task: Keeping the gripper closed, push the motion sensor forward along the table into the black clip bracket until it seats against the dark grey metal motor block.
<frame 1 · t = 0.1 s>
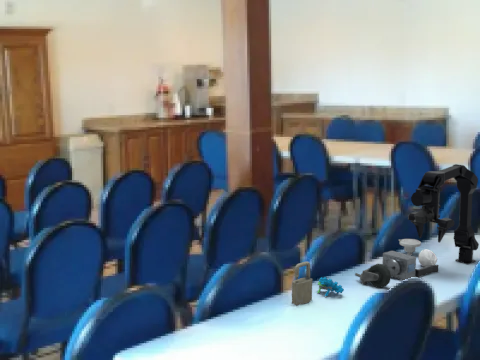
hand: (429, 240, 282), 15 cm above the table, tool pointing down, fingers open, 9 cm apart
padlock: (301, 302, 252), on the table
caster wheel: (371, 285, 271), on the table
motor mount: (411, 271, 288), on the table
blue toy creature: (329, 295, 260), on the table
showerhead: (408, 255, 312), on the table
motion sensor: (427, 267, 295), on the table
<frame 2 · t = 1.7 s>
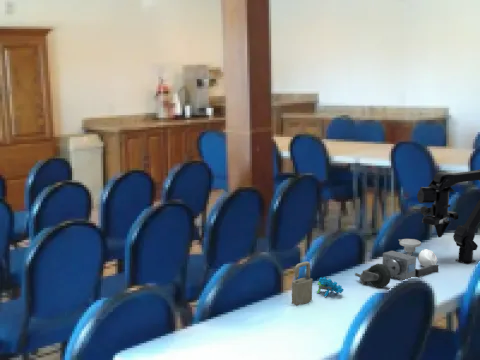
hand: (439, 237, 298), 12 cm above the table, tool pointing down, fingers closed
nothing on the table moved.
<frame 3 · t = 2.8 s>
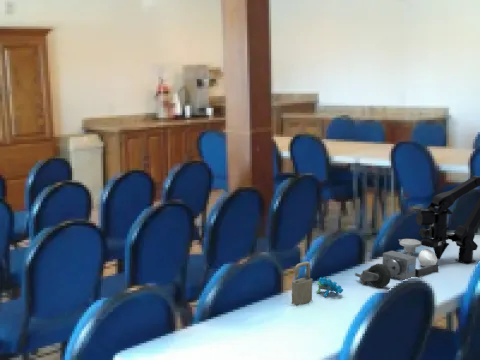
hand: (438, 259, 299), 2 cm above the table, tool pointing down, fingers closed
nothing on the table moved.
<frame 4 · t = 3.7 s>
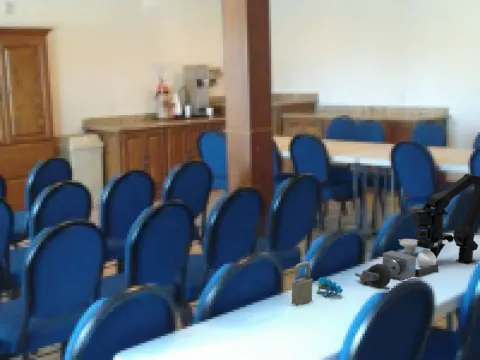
hand: (434, 259, 298), 2 cm above the table, tool pointing down, fingers closed
motion sensor: (426, 267, 294), on the table, touching gripper
everything else where it was.
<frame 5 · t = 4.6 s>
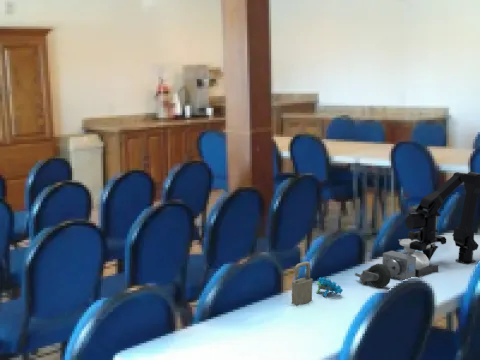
hand: (427, 262, 294), 2 cm above the table, tool pointing down, fingers closed
motion sensor: (418, 270, 291), on the table, touching gripper
everything else where it was.
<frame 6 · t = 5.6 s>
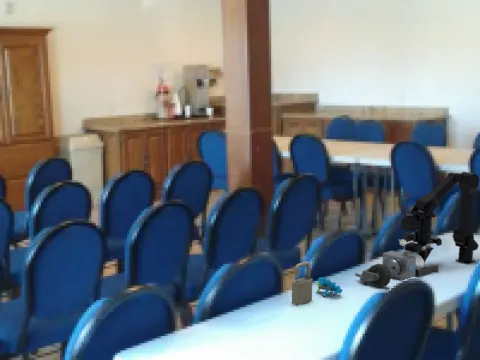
hand: (422, 263, 292), 2 cm above the table, tool pointing down, fingers closed
motion sensor: (414, 271, 289), on the table, touching gripper
everything else where it was.
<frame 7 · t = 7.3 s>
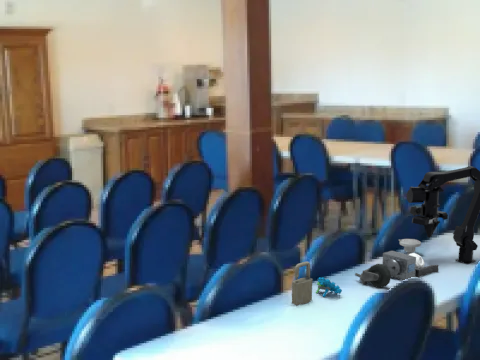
hand: (429, 237, 297), 12 cm above the table, tool pointing down, fingers closed
motion sensor: (414, 271, 289), on the table
everything else where it was.
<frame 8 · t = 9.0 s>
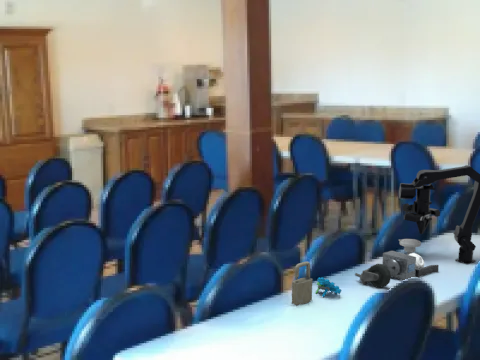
hand: (421, 233, 302), 12 cm above the table, tool pointing down, fingers closed
nothing on the table moved.
at the end: motion sensor 0.2 cm from the target spot, on the table; motion sensor tilted 0° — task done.
